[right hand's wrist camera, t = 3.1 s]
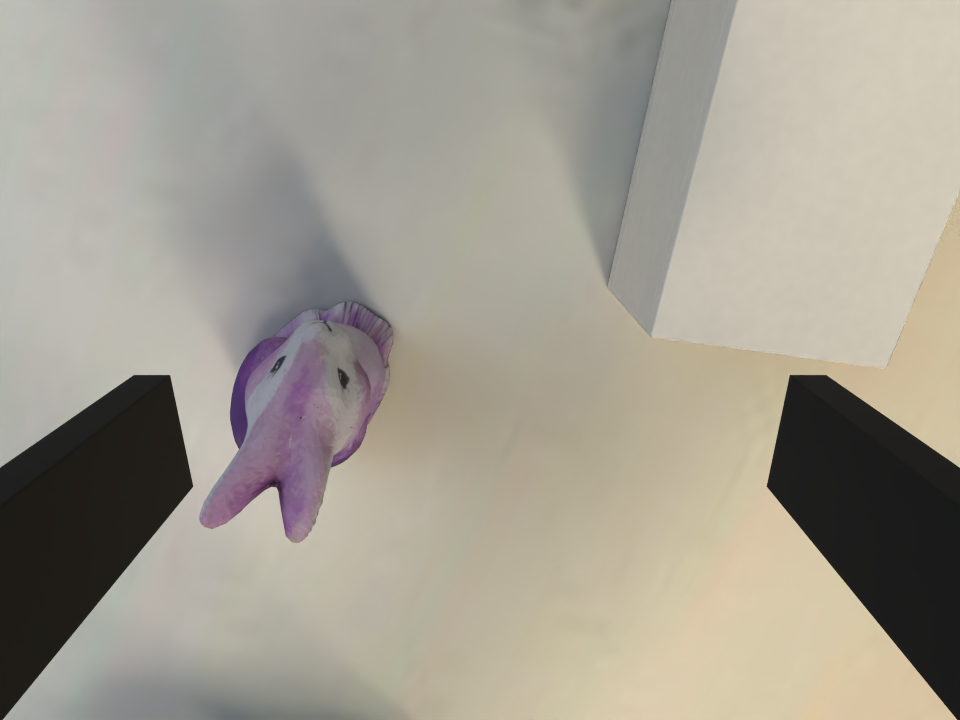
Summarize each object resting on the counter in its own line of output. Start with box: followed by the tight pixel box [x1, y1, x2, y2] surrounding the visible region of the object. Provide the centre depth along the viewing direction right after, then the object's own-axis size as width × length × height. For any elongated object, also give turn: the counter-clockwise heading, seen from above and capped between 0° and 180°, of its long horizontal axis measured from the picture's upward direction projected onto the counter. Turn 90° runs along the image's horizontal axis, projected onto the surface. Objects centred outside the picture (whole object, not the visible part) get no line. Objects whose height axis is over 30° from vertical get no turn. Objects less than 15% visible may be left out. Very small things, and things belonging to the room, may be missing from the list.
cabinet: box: [607, 0, 960, 369], centre depth 28 cm, size 17×11×9 cm, turn 172°
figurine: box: [200, 302, 393, 543], centre depth 29 cm, size 9×10×15 cm
